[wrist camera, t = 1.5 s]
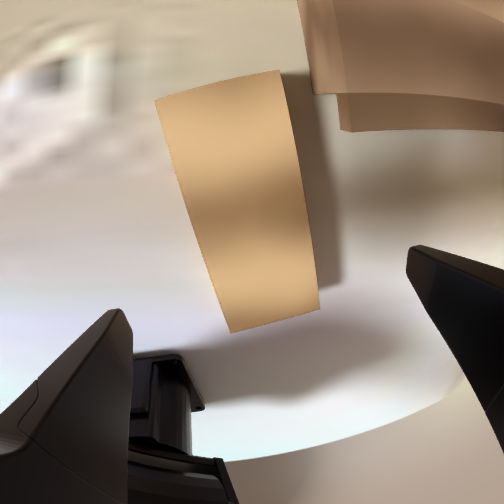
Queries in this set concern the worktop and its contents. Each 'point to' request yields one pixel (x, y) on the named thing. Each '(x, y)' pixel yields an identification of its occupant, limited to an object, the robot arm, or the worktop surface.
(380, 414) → the worktop surface
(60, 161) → the worktop surface
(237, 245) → the oak plank
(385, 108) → the laid planks
